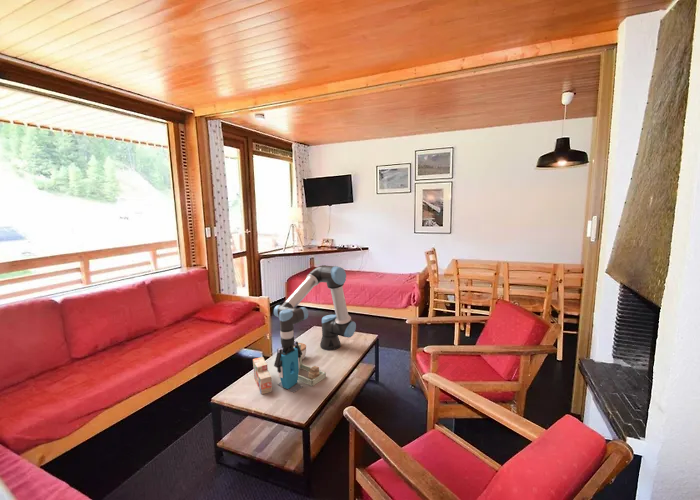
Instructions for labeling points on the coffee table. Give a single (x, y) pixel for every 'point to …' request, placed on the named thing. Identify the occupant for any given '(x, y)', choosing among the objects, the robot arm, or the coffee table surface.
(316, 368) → the offcut stack
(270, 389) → the stack of blocks
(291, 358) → the block
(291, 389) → the felt mat
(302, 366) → the frame
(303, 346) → the lidded bowl
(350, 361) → the coffee table surface
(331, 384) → the coffee table surface
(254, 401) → the coffee table surface
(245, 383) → the coffee table surface
